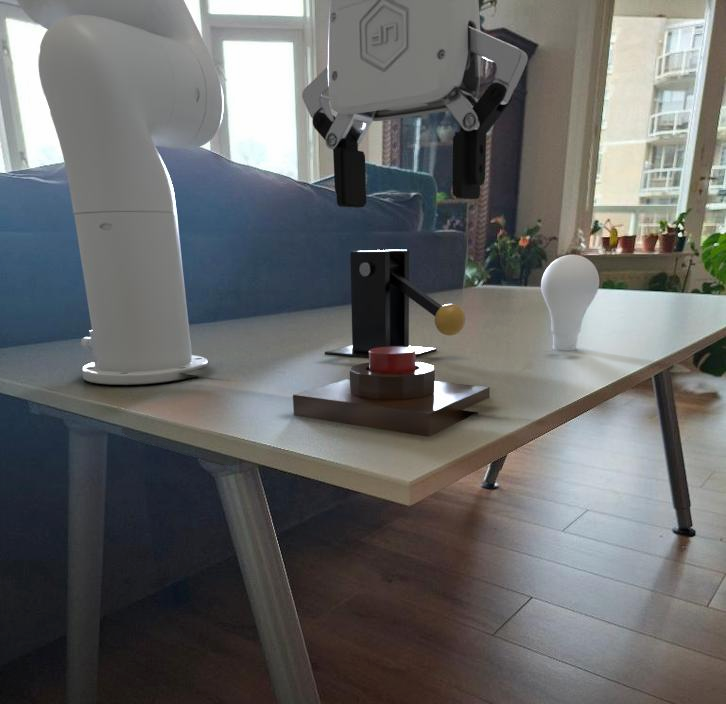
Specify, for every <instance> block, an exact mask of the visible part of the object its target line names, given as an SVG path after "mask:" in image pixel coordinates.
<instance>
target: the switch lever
mask: <svg viewBox="0 0 726 704" xmlns="http://www.w3.org/2000/svg"><path fill="white" fill-rule="evenodd" d="M398 267H399V264H398V263H396V262H395V261H394V260H392V259H391V258H390V284H392V285H393V286H395V287H396V288H397V289H399V290H400V291H401V292H403V293H404V294H405V295H407V296H408V297H409V299H411V300H412V301H413V302H414V303H416V304H417V305H419V306H420V307H422V308H423V309H424V310H425V311H427V312H428V313H430V314H431V315H432V316H433V317H434V325H435V328H436V330H437V331H438V332H439V333H440V334H441V335H445V336H455V335H457V334H459V333H460V332H461V331H463V329H464V327H465V326H466V320H467V319H466V313H465V312H464V310H463V309H462V307H460V305H457V304H455V303H447V304H444V305H441V304H440V303H439V302H437V301H436V300H435V299H433V298H432V297H431V296H429V295H428V294H427V293H425V292H423V291H422V290H421V289H419V288H418V287H417V286H416V285H414V284H412V283H411V282H410V281H409V282H408V281H407V280H406V279H404V278H403V277H402V276H400V275H399V274H398V273H396V271H397V269H398Z"/></svg>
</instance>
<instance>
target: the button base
mask: <svg viewBox="0 0 726 704" xmlns="http://www.w3.org/2000/svg"><path fill="white" fill-rule="evenodd" d="M490 389H491V387H490V386H483V385H473V384H465V383H456V382H454V383H453V382H445V381H436V369H435V366H434V365H432V364H429V363H426V362H421V361H420V362H419V361H416V370H415V371H412V372H403V373H379V372H370V371H369V362H363V363H359V364H356V365H352V366H351V367H350V369H349V378H346V379H342V380H339V381H335V382H332V383H329V384H325V385H322V386H319V387H316V388H315V387H314V388H312V389H307V390H305V391H301V392H298V393H294V394H292V405H293V407H292V409H293V416H295V417H301V418H308V419H315V420H321V421H325V422H326V421H327V422H334V423H341V424H347V425H353V426H359V427H365V428H370V429H377V430H385V431H389V432H395V433H402V434H409V435H414V436H421V437H427V438H429V437H431V436H433V435H435V434H437V433H440V432H441V431H443V430H446V429H447V428H449V427H451V426H454V425H455V424H457V423H460V422H462V421H464V420H467V418H470V417H472V416H474V415H476V414H479V411H471V410H465V409H467V408H469V407H472V406H474V405H476V404H478V403H480V402H482V401H485V400H487V399H489V398H490V395H491V394H490V391H491V390H490Z"/></svg>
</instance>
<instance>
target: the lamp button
mask: <svg viewBox="0 0 726 704" xmlns="http://www.w3.org/2000/svg"><path fill="white" fill-rule="evenodd" d="M416 362H417V357H416V350H415V349H413V348H409V347H379V348H373V349H370V350H369V359H368V363H369V371H370V372H379V373H403V372H412V371H415V370H416Z"/></svg>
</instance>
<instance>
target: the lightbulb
mask: <svg viewBox="0 0 726 704" xmlns="http://www.w3.org/2000/svg"><path fill="white" fill-rule="evenodd" d="M540 281H541V282H540V290H541V294H542V297H543V300H544V302H545V304H546V307H547V309H548V312H549V316H550V324H551V327H550V328H551V329H550V330H551V333H552V350H554V351H564V352H565V351H566V352H567V351H568V352H569V351H575V350H576V349H577V345H578V344H577V343H578V337H579V334H580V333H581V331H582V330H581V329H582V323H583V321H584V317H585V315H586V313H587V310H588V308H589V307H590V306H591V304H592V303H593V301H594V299H595V297H596V295H597V294H598V291H599V287H600V275H599V272H598V269H597V267H596V266H595V264H594V263H593V262H592V261H591V260H590V259H588V258H586V257H584V256H583V255H580V254H567V255H563V256H560V257H557V258H556V259H554V261H552V262H551V263H550V264H549V265H548V266H547V267H546V269H545V271H543V275H542V277H541V280H540Z"/></svg>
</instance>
